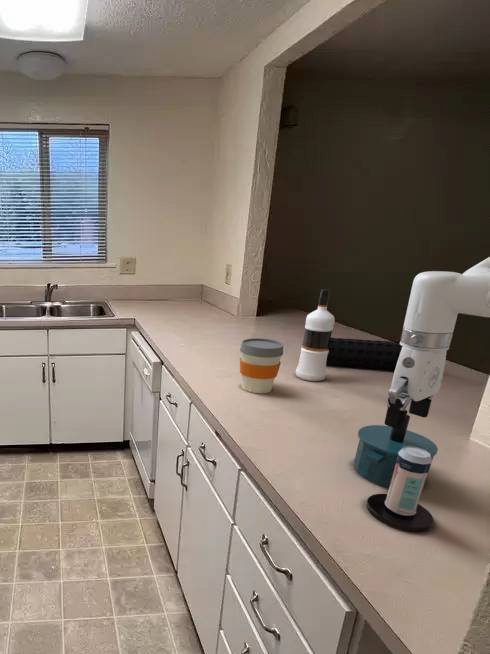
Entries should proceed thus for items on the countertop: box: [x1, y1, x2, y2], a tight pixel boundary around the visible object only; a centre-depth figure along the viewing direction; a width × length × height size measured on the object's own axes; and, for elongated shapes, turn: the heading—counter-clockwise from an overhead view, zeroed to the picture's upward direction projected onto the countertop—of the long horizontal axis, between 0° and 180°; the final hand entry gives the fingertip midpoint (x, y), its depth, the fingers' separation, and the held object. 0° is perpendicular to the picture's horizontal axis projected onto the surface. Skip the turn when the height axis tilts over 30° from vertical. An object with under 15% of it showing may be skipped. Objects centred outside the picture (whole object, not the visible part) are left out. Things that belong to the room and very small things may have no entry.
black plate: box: [366, 493, 435, 533], centre depth 79 cm, size 10×10×1 cm
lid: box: [357, 414, 439, 458], centre depth 89 cm, size 14×14×7 cm
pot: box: [353, 439, 435, 489], centre depth 91 cm, size 13×18×8 cm
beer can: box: [385, 446, 433, 516], centre depth 77 cm, size 5×5×12 cm
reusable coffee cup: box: [239, 337, 284, 394], centre depth 137 cm, size 12×13×15 cm
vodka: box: [295, 288, 336, 382], centre depth 144 cm, size 9×9×30 cm
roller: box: [326, 337, 403, 371], centre depth 158 cm, size 38×10×10 cm, turn 71°
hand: (405, 420), depth 88 cm, fingers open, 9 cm apart
